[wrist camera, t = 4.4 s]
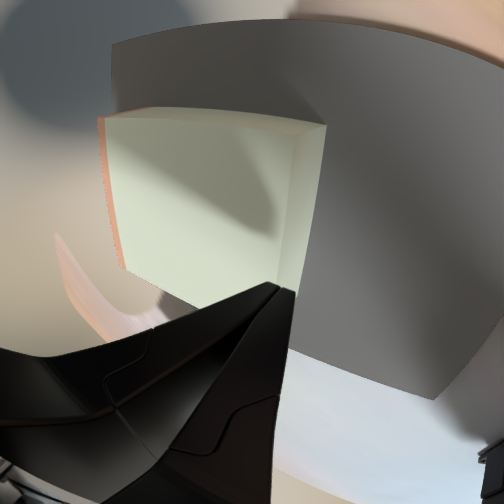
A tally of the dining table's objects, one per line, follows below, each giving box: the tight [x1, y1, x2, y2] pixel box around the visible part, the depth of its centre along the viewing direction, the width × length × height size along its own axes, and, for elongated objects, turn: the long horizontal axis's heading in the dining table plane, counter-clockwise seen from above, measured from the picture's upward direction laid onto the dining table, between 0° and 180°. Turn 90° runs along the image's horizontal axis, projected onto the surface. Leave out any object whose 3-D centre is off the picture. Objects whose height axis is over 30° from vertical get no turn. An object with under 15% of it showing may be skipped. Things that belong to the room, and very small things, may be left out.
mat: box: [111, 19, 504, 400], centre depth 13 cm, size 22×16×1 cm
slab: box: [97, 107, 327, 309], centre depth 12 cm, size 3×8×9 cm
